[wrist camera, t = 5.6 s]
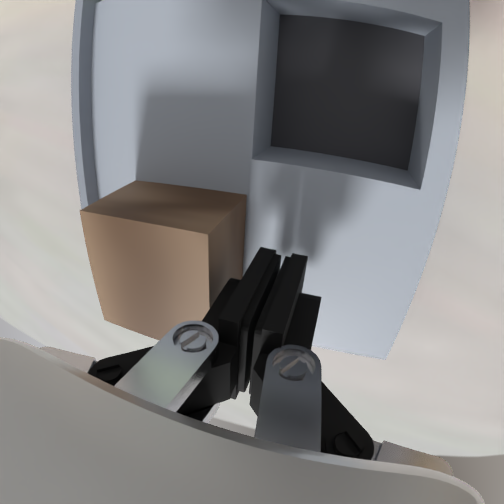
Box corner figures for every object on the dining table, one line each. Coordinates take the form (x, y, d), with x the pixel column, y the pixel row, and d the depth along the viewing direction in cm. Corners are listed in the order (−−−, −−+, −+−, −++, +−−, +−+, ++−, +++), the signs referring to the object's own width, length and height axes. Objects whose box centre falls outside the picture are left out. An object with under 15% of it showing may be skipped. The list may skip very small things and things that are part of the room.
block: (246, 194, 12) (207, 234, 9) (241, 301, 14) (211, 357, 11) (135, 180, 13) (79, 210, 10) (146, 277, 15) (104, 320, 12)
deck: (442, -90, 5) (460, -128, 2) (388, 319, 16) (390, 375, 13) (137, -85, 8) (92, -105, 5) (133, 262, 19) (94, 298, 16)
